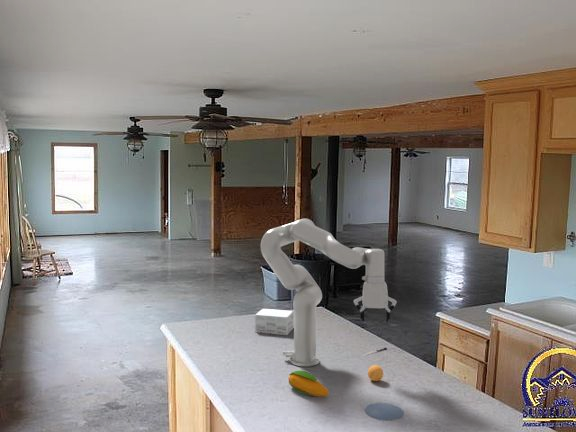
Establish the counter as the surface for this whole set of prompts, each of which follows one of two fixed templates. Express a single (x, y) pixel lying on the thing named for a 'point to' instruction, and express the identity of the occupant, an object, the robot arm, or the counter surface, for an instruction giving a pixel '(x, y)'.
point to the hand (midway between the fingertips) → (375, 320)
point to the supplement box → (274, 321)
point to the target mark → (384, 411)
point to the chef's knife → (373, 352)
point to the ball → (375, 373)
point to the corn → (307, 384)
